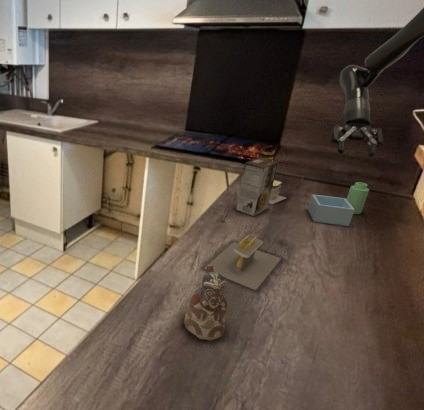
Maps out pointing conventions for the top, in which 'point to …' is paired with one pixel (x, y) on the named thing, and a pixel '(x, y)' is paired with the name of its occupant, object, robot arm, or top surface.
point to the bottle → (357, 196)
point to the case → (330, 210)
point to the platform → (245, 263)
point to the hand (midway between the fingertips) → (356, 154)
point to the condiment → (266, 155)
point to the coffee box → (256, 186)
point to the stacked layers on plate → (275, 193)
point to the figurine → (208, 307)
